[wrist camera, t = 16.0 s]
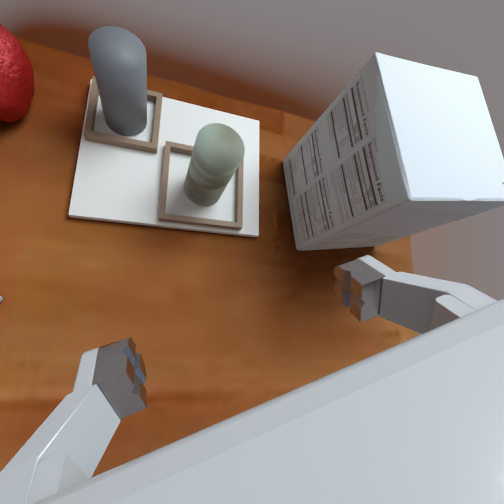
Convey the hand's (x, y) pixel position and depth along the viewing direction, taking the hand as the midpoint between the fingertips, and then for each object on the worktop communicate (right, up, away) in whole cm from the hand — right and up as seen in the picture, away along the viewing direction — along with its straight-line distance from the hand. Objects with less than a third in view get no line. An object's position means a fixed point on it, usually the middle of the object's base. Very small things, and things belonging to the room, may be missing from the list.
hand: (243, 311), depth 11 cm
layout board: (-9, +13, +23) cm, 27 cm away
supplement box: (+11, +9, +29) cm, 33 cm away
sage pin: (-5, +10, +22) cm, 25 cm away
